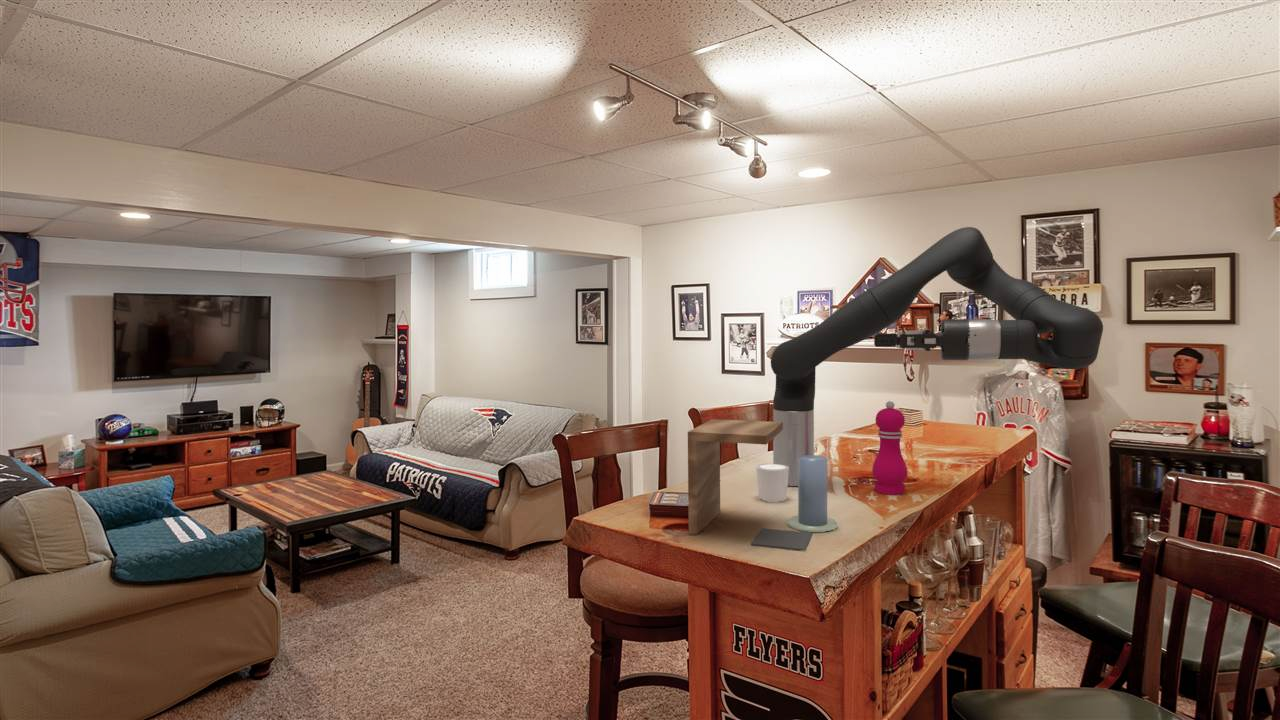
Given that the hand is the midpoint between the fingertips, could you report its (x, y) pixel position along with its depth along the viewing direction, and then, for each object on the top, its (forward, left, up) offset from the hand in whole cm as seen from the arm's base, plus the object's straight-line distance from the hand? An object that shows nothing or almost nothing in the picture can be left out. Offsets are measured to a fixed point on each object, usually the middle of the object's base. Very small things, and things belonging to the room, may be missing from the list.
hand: (875, 340), depth 127 cm
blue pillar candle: (+2, -14, -33) cm, 36 cm away
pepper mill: (-15, +14, -34) cm, 40 cm away
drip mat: (+8, -23, -34) cm, 42 cm away
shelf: (-2, -28, -34) cm, 44 cm away
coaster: (+2, -14, -34) cm, 37 cm away
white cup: (-17, -13, -34) cm, 40 cm away
